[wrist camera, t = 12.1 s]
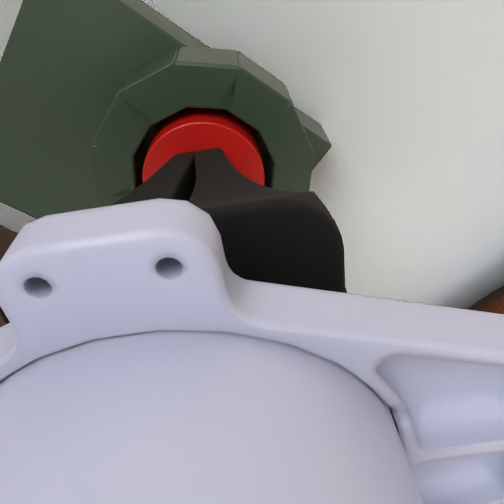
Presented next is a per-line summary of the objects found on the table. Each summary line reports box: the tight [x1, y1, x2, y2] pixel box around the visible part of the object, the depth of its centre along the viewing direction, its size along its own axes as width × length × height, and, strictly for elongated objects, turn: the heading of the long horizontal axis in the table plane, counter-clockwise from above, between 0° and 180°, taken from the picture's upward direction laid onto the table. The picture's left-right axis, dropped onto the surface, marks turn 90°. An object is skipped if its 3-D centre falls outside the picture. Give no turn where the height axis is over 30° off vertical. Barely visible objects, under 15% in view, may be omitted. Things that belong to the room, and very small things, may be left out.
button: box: [142, 107, 265, 186], centre depth 15 cm, size 4×4×2 cm
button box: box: [0, 0, 331, 219], centre depth 16 cm, size 10×9×4 cm
